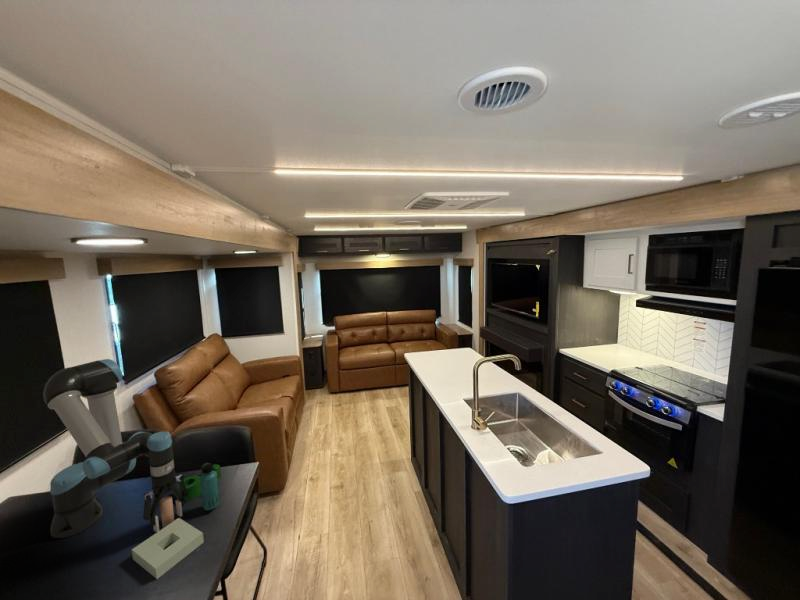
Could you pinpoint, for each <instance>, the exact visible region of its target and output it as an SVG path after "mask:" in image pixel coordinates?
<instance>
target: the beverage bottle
mask: <svg viewBox="0 0 800 600" xmlns="http://www.w3.org/2000/svg"><path fill="white" fill-rule="evenodd" d="M203 465H204V464H203ZM203 465H202V466H203ZM213 465H214V464H213V463H210V464H206V465H204V466H203V470H202V472H203V474H202V476H201V475H200V476H201V477H200V480H201V490H202V493H201V502H202V509H203V510H205V511H211V510H213V509H215V508H216V507H218V506H219V503H220V493H219V489H220V488H219V485H218V484H219V482H218V479H217V472H216V471H213V469H214V468H213Z"/></svg>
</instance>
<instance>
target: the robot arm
mask: <svg viewBox="0 0 800 600" xmlns="http://www.w3.org/2000/svg"><path fill="white" fill-rule="evenodd" d="M122 372H123V371H122V370H121V368H120V366H119V365H118V364H117V362H116V361H114V360H113V359H110V358H106V359H105V358H104V359H100V360H99V359H98V360H94V361H91V362H87V363H83V364H79V365H74V366H70V367H65V368H62V369H60V370H58V371H56V372H55V373H54V374H53V375H51V376H50V377H49V378H48V380H47V382H46V383H45V385H44V389H43V394H42V395H43V402H44V403H45V404H46V406H47V408H48V409H50V410H54V412H55V413H56V415H58V417H59V419H60V421H61V422H62V424H63V425H64V426H65V427H66V429H67V431H68V433H69V434H70V435H71V437H72V438H73V440H74V441H75V443H76V444H77V446H78V447H79V449H80V450H81V451H82V453H83V455H84V456H85V458H86V459H85V460H84V461H83V462H78V463H74V464H72V465H70V466H67V467H65V468H63V469H62V470H60V471H59V472H57V473H56V474H55V475H54V476H53V478H52V479H51V480H50V483H49V484H50V490H49V491H50V494H51V501H52V506H53V511H54V512H53V513H54V515H53V518H52V520H51V524H50V529H49V531H50V532H49V533H50V535H51V537H52V538H54V539H63V538H69V537H71V536H74V535H77V534H78V533H79V534H80V533H81V532H83V531H85V530H87V529H89V528H90V527H92V526H93V525H95V524H96V523H97V522H98V521H99V520H100V519H101V517H102V515H103V508H102V505H101V504H100V502H99V501H98V500H97V499H96V497H95V492H96V491H97V490H99V489H101V488H103V487H105V486H107V485H108V484H110V483H113V482H115V481H117V480H118V479H120V478H123V477H124V476H125V475H127V474H129V473H130V472H132V471H133V470H134V469H135V467H136V463H137V458H140V457H141V456H145V457H148V461H149V469H150V476H151V477H150V478H151V479H150V480H151V485H152V488H151V490H150V491H149V492H148V493H144V494H143V499H144V501H143V502H144V504H143V512H142V513H143V514H142V516H143V517H142V518H143V520H145V521H147V522H149V525H150V526H152V527H153V531H154V532H155V533H157V532H159V531H160V525H159V516H158V515H157V513H158V510H159V507H160V501H161V500H162V499H163V498H164V497H163V496H165V495H166V494H169V493H170V492H171V493H172V495H174V497H175V498H177V499H175V510H176V515H177V516H179V518H181V517H183V507H184V504H185V503H184V502H185V501H184V500H185V498H184V497H185V496H187V495H188V493H187V490H186V487H185V484H184V478H185V476H184V475H182V474H181V473H180V474H178V475H177V476H176V471H175V469H176V468H175V461H174V450H173V439H172V435H171V433H170V432H169V431H166V430H165V431H159V432H155V433H153V434H152V433H150V432H149V431H148V432H146V431H137V432H135V433H133V434H132V435H131V436H130V437H128V439H127V440H126V441H124V442H123V439H122V434H121V433H122V431H121V427H120V422H119V421H120V420H119V415H118V410H117V404H116V398H115V391H116V390H117V389H118V383H120V382H122V380H123V373H122ZM81 397H82V398H84V399H86V400H87V405H86V404H85V403H84V401H83V399H82V398H81ZM176 482H177V485H179V488H180V491H181V494H180V493H179V492H178V489H177V488H176V487H175V484H176ZM152 498H153V501H152Z"/></svg>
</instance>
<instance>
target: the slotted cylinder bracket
mask: <svg viewBox="0 0 800 600" xmlns="http://www.w3.org/2000/svg"><path fill="white" fill-rule="evenodd" d="M206 464H211V462H205V463H204V464H202V466H200V473H201V474H200V475H197V474H194V475H190V476H189V475H188V476H187V477H184V484H185V487H186V490H187V493H188V495H187V496H185V497H184V498H185V500H184V501H183V502H190V501H192V500H194V499H196V498H198V497H199V496H200V495H202V490H201V480H200V477H201V476H202V474H203V472H202V470H203V466H204V465H206ZM213 468H214V469H213V471H216V472H217V480H218V479H220V478H221V476H222V474H221V465H220V464H216V463H214V464H213ZM177 491H178V492H179V493H180V494H181V491H180V488H179V485H178V484H177Z"/></svg>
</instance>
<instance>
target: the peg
mask: <svg viewBox="0 0 800 600" xmlns="http://www.w3.org/2000/svg"><path fill="white" fill-rule="evenodd" d="M159 507H160V508H159V509H160V516H161V524H162V525H161V526H162V529H163V528H164V527H166V526H167V525H169V524H170V523H172V522H173V521H175V511H174V504H173V497H172V496H170V495H169V496H168V495H167V496H165V497H162V499H161V500H160V504H159Z"/></svg>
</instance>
